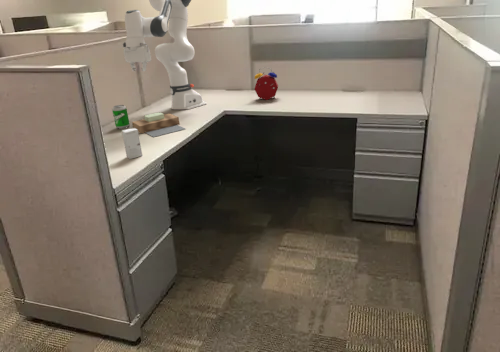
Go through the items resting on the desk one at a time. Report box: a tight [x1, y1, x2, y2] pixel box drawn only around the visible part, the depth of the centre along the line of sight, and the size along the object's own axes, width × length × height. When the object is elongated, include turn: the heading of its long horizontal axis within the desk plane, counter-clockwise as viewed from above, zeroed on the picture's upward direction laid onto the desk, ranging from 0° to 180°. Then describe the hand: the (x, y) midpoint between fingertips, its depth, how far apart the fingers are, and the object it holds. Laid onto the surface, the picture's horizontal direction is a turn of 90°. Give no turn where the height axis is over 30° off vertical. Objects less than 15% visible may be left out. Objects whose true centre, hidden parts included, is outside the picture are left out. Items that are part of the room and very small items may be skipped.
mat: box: [144, 124, 186, 138], centre depth 218 cm, size 18×11×1 cm, turn 124°
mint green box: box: [143, 112, 165, 122], centre depth 226 cm, size 9×6×2 cm, turn 124°
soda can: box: [111, 104, 131, 130], centre depth 229 cm, size 8×8×12 cm
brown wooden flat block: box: [131, 113, 181, 134], centre depth 226 cm, size 22×12×4 cm, turn 124°
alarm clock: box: [254, 66, 279, 101], centre depth 262 cm, size 15×9×20 cm, turn 84°
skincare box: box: [121, 127, 143, 160], centre depth 182 cm, size 6×4×12 cm
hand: (139, 71), depth 219 cm, fingers open, 8 cm apart
